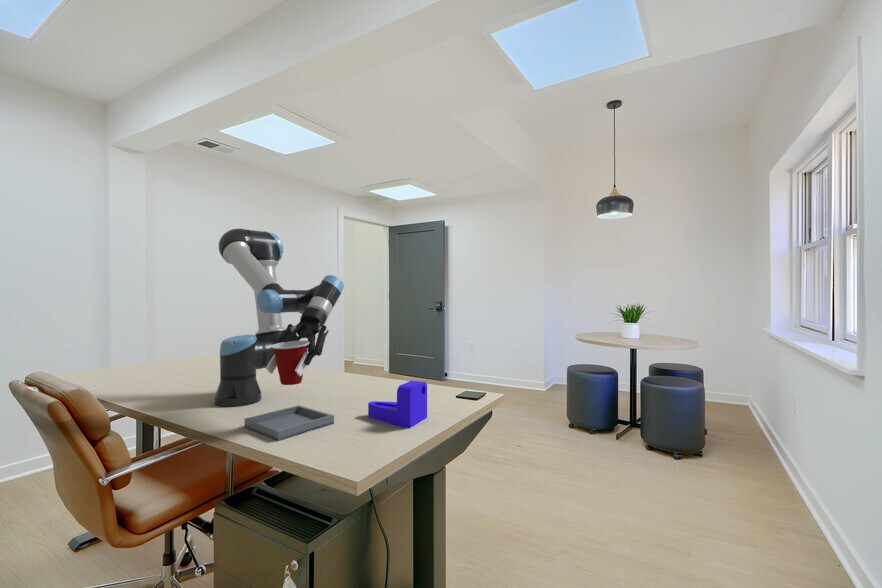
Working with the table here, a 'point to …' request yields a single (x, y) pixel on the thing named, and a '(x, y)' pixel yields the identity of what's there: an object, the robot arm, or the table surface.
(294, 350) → the plastic cup
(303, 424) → the tray
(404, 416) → the bracket
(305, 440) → the table surface
